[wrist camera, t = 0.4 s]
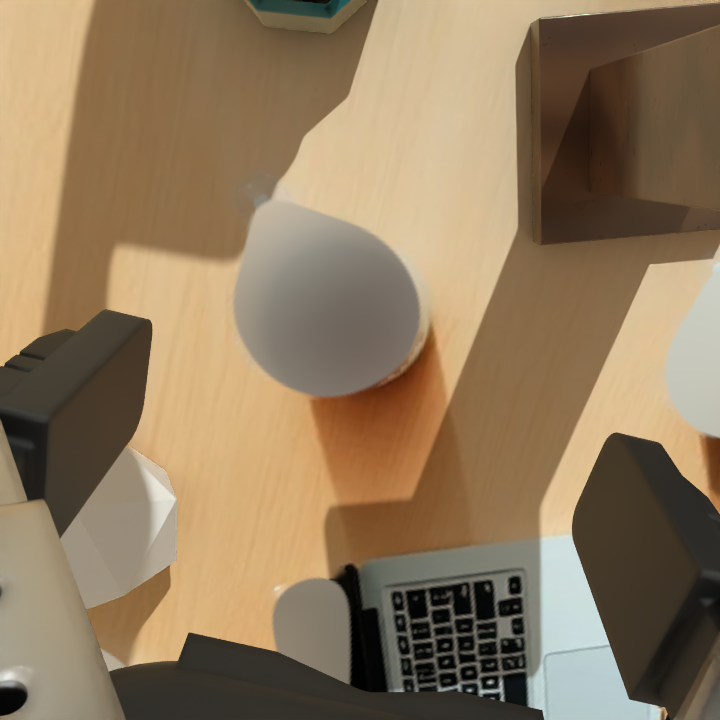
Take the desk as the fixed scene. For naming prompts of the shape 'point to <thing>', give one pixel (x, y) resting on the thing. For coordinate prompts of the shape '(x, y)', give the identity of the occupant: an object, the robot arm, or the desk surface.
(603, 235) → the stand
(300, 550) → the desk surface
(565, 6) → the desk surface
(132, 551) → the die
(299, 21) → the teal octagonal bowl
